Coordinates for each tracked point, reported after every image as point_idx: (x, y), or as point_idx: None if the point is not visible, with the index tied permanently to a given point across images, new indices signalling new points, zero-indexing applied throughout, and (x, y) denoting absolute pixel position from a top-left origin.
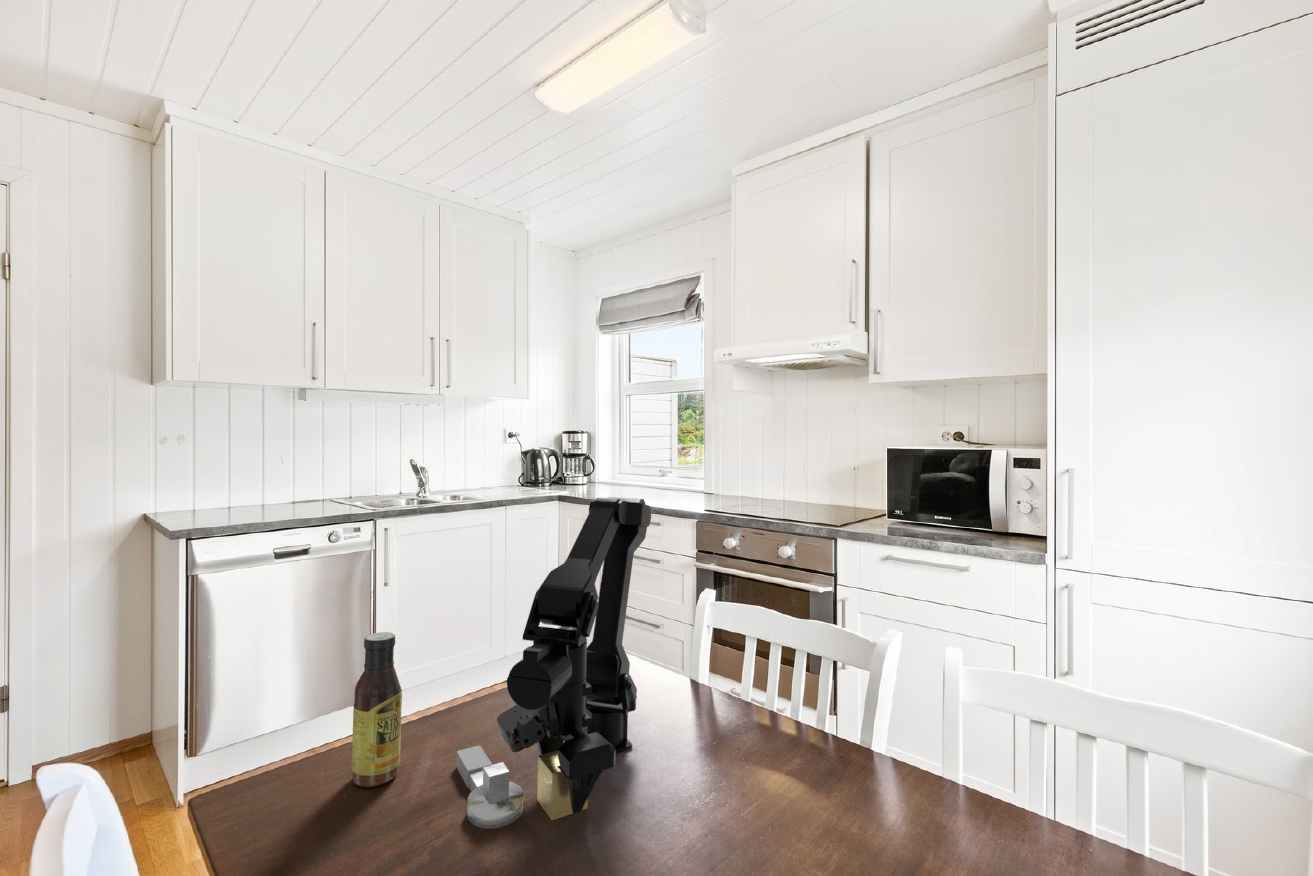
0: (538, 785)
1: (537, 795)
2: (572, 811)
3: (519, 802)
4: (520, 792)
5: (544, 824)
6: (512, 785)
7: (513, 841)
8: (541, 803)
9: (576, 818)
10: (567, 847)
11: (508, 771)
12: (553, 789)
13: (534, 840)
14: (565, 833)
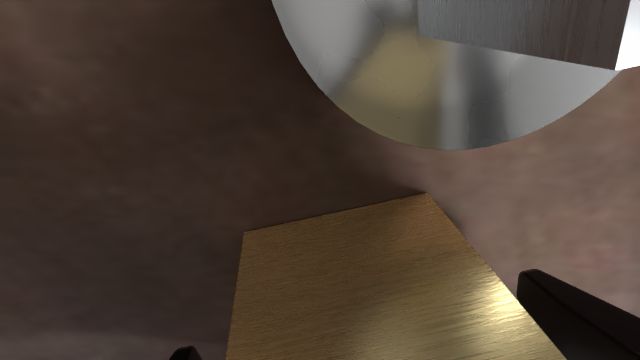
0: (454, 244)
1: (435, 206)
2: (183, 350)
3: (343, 109)
4: (450, 131)
5: (226, 199)
6: (559, 88)
7: (96, 17)
8: (376, 211)
9: None
10: (29, 268)
11: (629, 56)
12: None
13: (96, 137)
14: (138, 271)
